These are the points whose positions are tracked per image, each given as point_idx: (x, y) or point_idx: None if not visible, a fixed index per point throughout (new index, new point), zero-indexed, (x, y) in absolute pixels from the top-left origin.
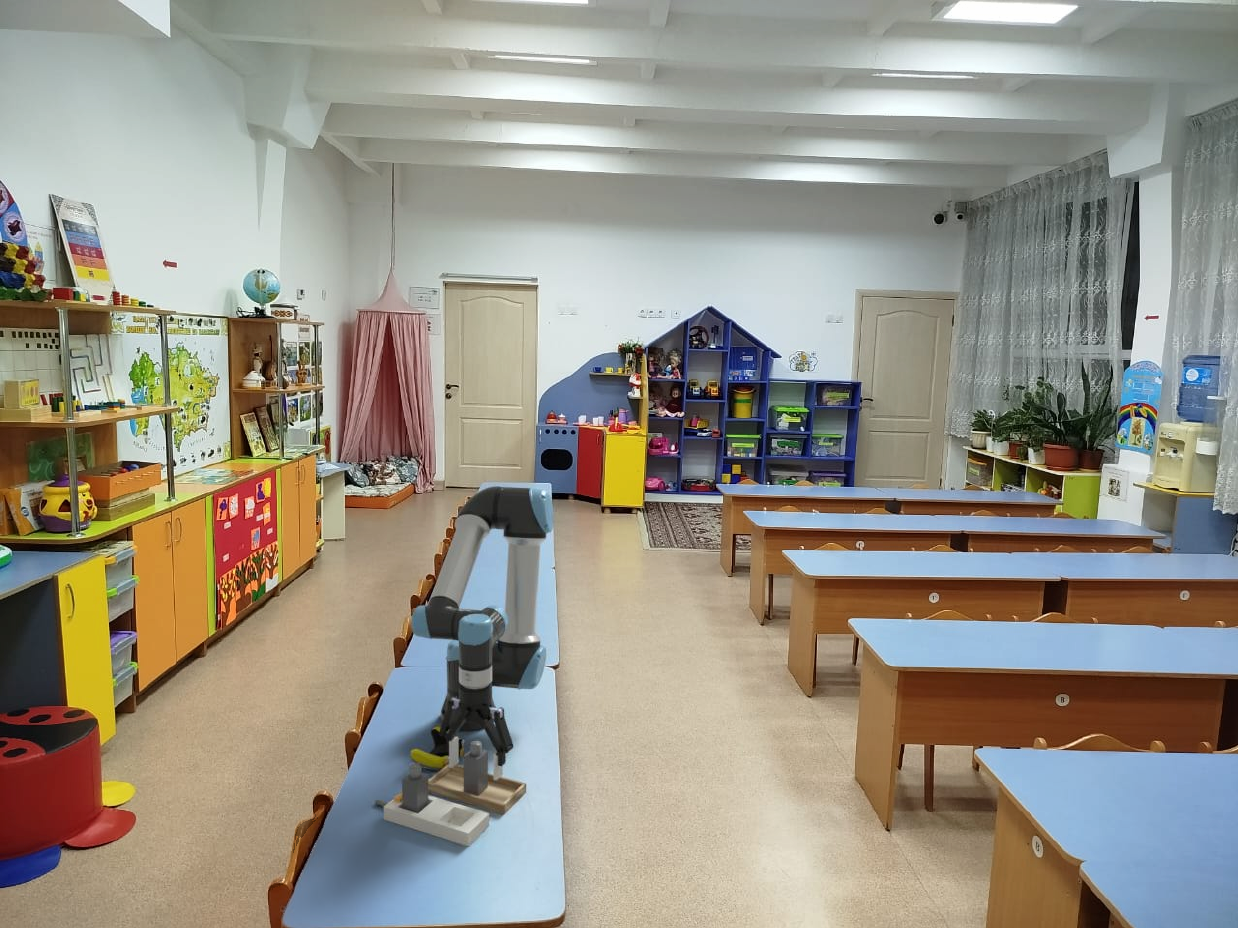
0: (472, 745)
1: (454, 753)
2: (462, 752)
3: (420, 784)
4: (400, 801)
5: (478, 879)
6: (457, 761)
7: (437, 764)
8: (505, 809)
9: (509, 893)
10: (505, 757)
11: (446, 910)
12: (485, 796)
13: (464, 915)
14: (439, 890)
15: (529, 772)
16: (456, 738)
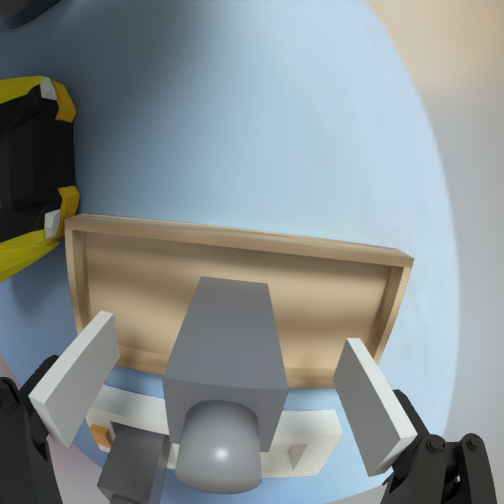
0: (211, 490)
1: (92, 379)
2: (69, 111)
3: (156, 502)
4: (112, 442)
5: (348, 475)
6: (111, 327)
7: (42, 254)
8: None
9: (391, 468)
10: (416, 412)
11: (322, 500)
12: (284, 334)
13: (344, 496)
14: (302, 495)
15: (368, 120)
16: (51, 417)
